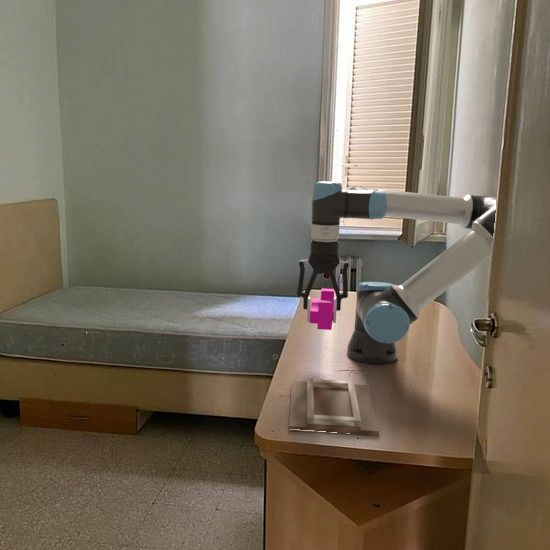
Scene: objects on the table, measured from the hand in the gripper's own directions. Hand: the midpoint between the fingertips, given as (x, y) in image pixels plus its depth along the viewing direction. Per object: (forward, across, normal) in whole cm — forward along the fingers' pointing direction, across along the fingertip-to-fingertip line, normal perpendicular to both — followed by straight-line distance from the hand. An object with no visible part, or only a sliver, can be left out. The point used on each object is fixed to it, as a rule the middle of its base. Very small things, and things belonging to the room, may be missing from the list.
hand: (321, 320), depth 150 cm
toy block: (+1, 0, +1) cm, 1 cm away
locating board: (+15, +3, -23) cm, 28 cm away
